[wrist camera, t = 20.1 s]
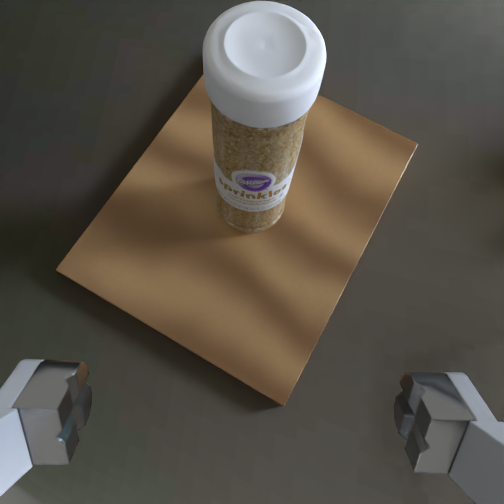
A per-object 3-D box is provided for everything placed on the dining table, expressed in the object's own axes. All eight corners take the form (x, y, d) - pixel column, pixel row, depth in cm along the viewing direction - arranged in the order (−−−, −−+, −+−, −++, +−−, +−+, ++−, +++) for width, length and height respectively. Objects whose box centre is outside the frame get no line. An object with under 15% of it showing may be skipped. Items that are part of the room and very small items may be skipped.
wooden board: (283, 406, 25) (283, 407, 24) (58, 272, 27) (54, 269, 26) (415, 148, 30) (418, 143, 30) (223, 53, 32) (222, 47, 32)
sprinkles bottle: (223, 240, 27) (213, 106, 14) (210, 177, 28) (191, 2, 16) (293, 227, 27) (344, 86, 15) (277, 166, 29) (311, -13, 16)
